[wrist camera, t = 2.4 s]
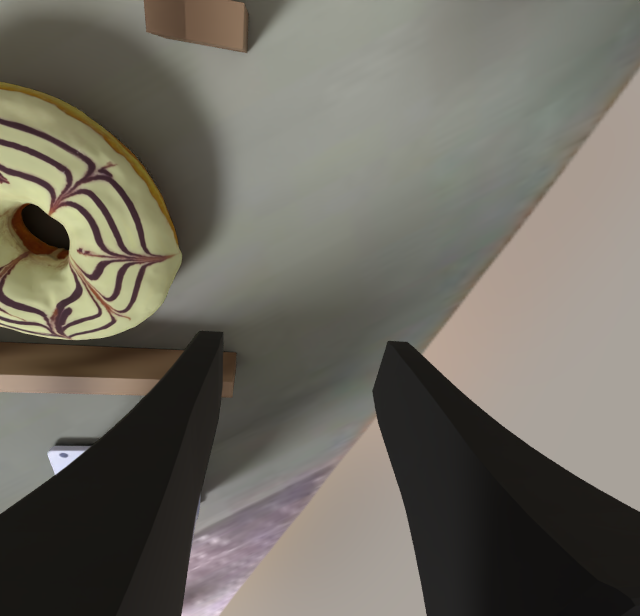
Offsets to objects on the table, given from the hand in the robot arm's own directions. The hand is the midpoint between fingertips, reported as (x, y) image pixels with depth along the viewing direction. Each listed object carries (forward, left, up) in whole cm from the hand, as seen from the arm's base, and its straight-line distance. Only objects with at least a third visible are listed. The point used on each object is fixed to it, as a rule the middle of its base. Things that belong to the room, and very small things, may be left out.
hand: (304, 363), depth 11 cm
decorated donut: (+11, 0, -10) cm, 14 cm away
